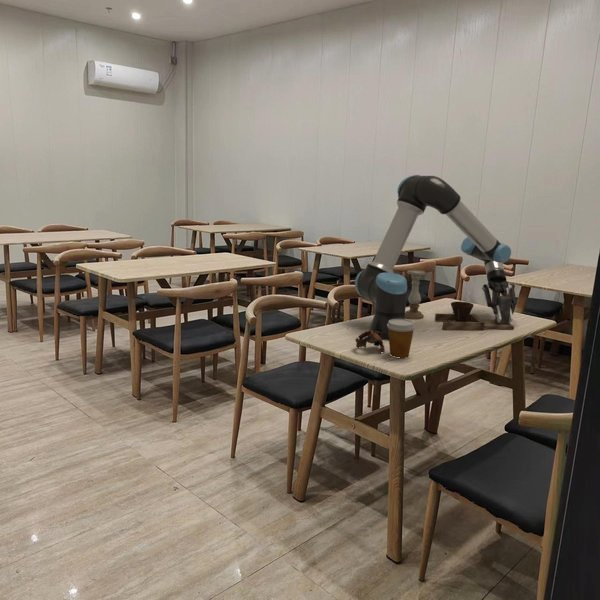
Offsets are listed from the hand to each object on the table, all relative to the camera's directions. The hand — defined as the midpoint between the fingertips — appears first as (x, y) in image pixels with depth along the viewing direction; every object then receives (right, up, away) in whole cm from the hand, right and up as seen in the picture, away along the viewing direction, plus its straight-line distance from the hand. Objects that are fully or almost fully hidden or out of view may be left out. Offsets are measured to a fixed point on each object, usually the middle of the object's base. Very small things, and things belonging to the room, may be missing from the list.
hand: (505, 320), depth 221 cm
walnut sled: (-11, -2, +5) cm, 12 cm away
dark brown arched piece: (-58, -10, -28) cm, 65 cm away
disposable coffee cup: (-49, -11, -34) cm, 61 cm away
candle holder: (-34, +1, +18) cm, 38 cm away
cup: (-17, -2, +5) cm, 18 cm away
